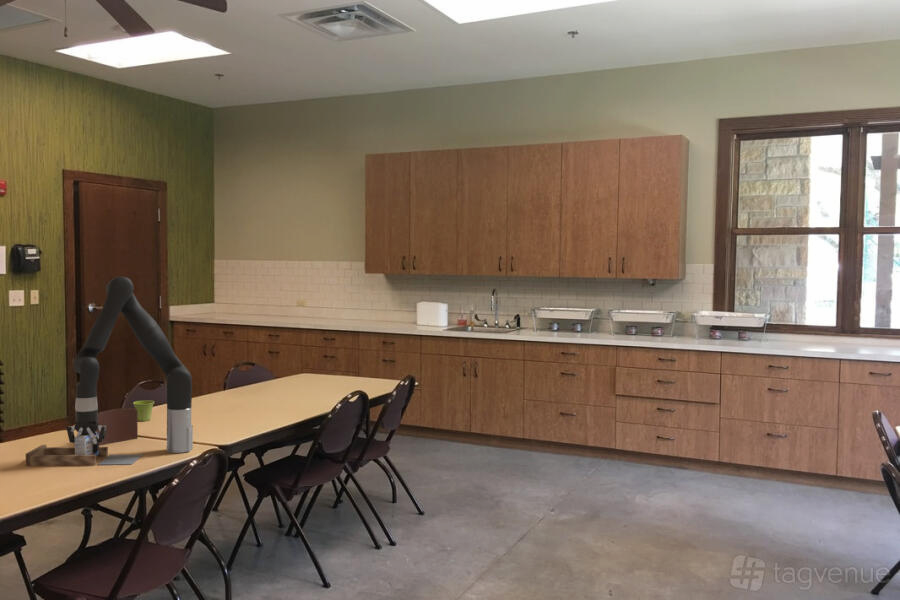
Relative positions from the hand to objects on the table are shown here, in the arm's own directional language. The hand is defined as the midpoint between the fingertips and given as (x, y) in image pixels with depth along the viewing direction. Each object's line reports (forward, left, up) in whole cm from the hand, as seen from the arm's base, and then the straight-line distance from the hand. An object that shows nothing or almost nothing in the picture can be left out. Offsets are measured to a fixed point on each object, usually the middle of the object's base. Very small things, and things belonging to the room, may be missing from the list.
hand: (87, 453), depth 278 cm
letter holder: (+2, -32, -3) cm, 32 cm away
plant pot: (+1, -75, -3) cm, 75 cm away
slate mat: (-12, 0, -3) cm, 13 cm away
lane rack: (+7, 0, -3) cm, 7 cm away
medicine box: (0, 0, -2) cm, 2 cm away
